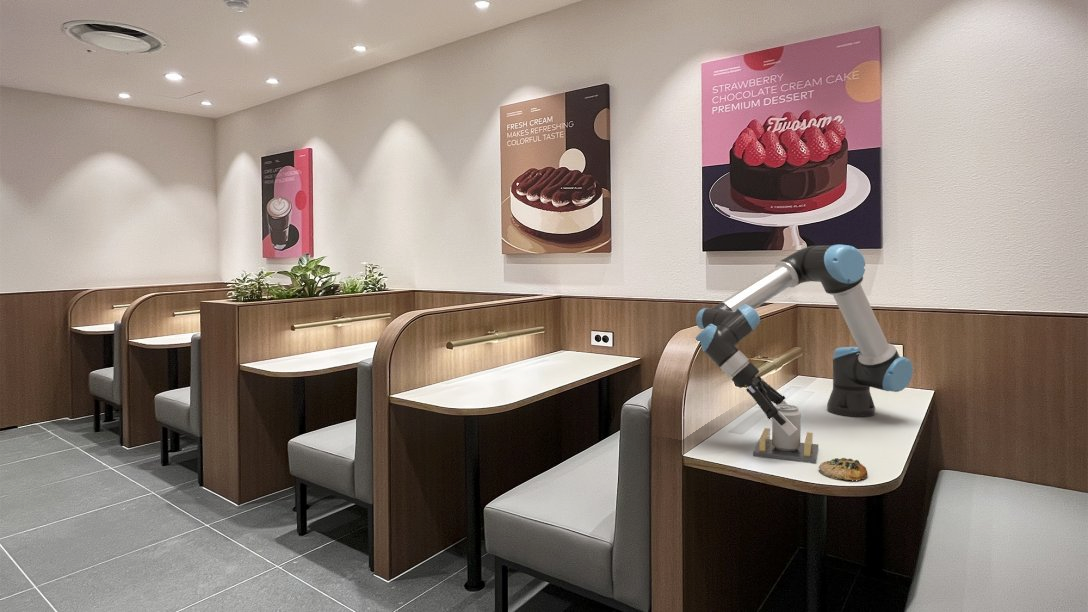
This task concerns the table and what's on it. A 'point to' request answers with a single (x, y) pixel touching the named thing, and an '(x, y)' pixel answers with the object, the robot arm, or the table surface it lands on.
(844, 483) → the table surface
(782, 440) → the can
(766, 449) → the holder plate
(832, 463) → the bread roll
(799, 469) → the table surface
